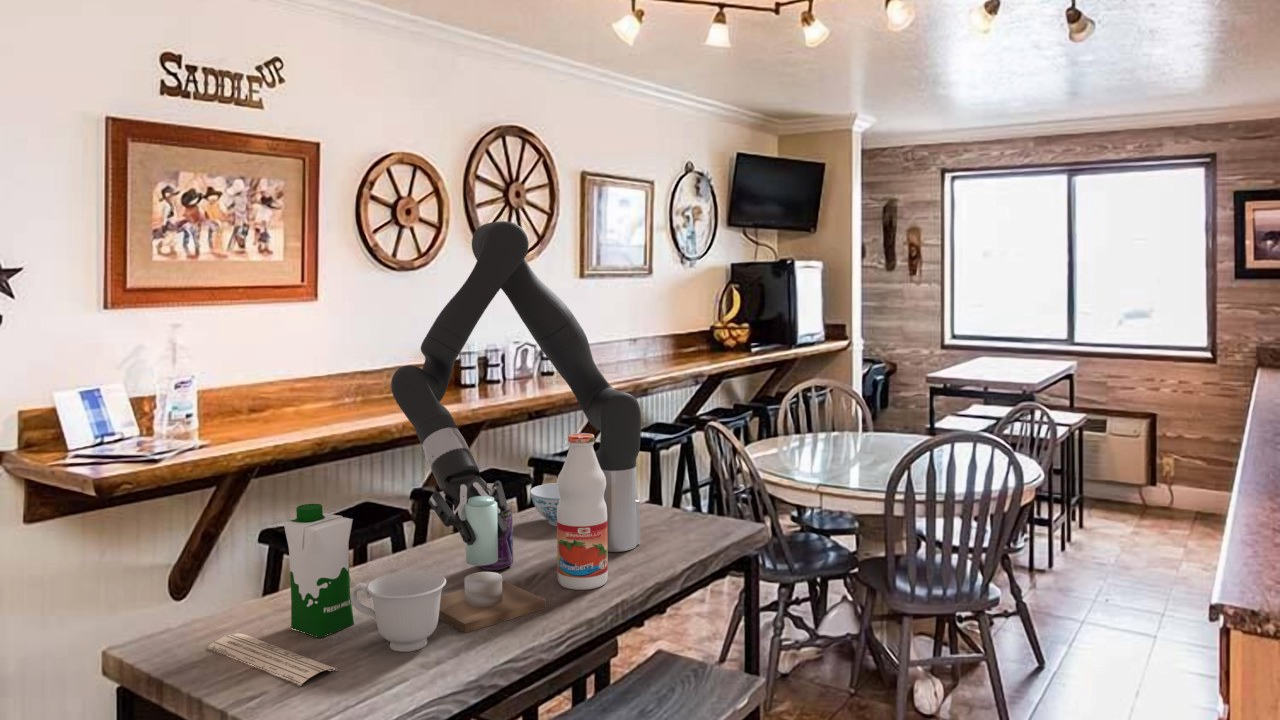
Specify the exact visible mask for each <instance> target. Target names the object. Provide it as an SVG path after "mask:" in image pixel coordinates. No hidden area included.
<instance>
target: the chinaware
mask: <svg viewBox="0 0 1280 720" xmlns="http://www.w3.org/2000/svg"><path fill="white" fill-rule="evenodd" d="M529 490H530V491H529V492H530V493H529V494H530V497H531V500H532V503H533V505H534V507H535V509H536V511H537V512H538V513H539V514H540V515H541V516H542V517H543V518H545V519H547V521H548V524H549V525H551V526H555V527H557V506H558V503H559V501H560V495H559V491H558V487H557V482H551V483H545V484H544V483H543V484H541V485H537V486H534V487H532V488H531V489H529Z"/></svg>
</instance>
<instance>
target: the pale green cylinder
mask: <svg viewBox="0 0 1280 720" xmlns="http://www.w3.org/2000/svg"><path fill="white" fill-rule="evenodd" d="M465 511H466V521H468V522H469V523H470V525H471V528H472V530H473V532H474V534H475V536H476V541H475V542H474V543H473V545H467V543H465V561H466V564H468V565H471V566H478V567H480V566H482V565H490V564H493V563H496V562H497V561H498V522H497V502H496V501H494V498H493V497H492V496H476V497H471V498H469V499H468V502H467V504H465Z"/></svg>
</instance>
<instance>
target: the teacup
mask: <svg viewBox="0 0 1280 720" xmlns="http://www.w3.org/2000/svg"><path fill="white" fill-rule="evenodd" d="M446 584H447V579H446V578H445V576H443V575H441V573H437V572H433V571H427V570H405V571H402V570H401V571H397V572H391V573H387V574H384V575H381V576H379V577H377V578H374V579H372V580H371V581H370V582H369V583H368V584H367V583H365V582H357V583H356V584H355V585H353V587H352V588H351V589H350V599H351V604H352V607H354V608H355V610H357V611H359V612H360V613H363V614H366V615H368V616H370V617H371V618H373V620H375V623H376V626H377V629H378V632H379V633H380V635H381V636H382V638H384V640H387V641H389V643H390V644H389V648H390V649H391V650H392V651H395V652H399V653H400V652H401V653H402V652H403V653H406V652H407V653H408V652H415V651H417V650H421V649H423V648H424V647H426V646H427V644H428V637H430V636H431V635H432V634H433V633H434V632H435V631H436V628H437V626H438V622H439V618H438V617H439V609H440V598H441V596H442V591H443V587H445V586H446ZM358 591H363V592H364V593H365V597H366V598H367V599H370V598H371V599H372V604H373V608H370V607H369V606H366V605H364V604H362V603H361V601H360V600H359V599H358V596H357V592H358Z"/></svg>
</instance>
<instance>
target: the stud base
mask: <svg viewBox="0 0 1280 720" xmlns="http://www.w3.org/2000/svg"><path fill="white" fill-rule="evenodd" d="M544 609H546V599H545V598H542V597H541V596H538V595H536V594H533V593H531V592H529V591H527V590H524V589H522V588H520V587H517V586H515V585H513V584H511V583H509V582H507V581H504V580H503V576H502V574H500V573H499V572H493V571H480V572H479V571H478V572H473V573H470V574H468V575H466V576H465V577H464V589H461V590H458V591H453V592H451V593H446V594H441V598H440V609H439V617H438V620H441V621H443V622H445V623H446V624H448V625H450V626H452V627H454V628H455V629H458V630H459V631H461V632H462V633H464V634H465V633H469V632H472V631H476V630H479V629H483V628H486V627H490V626H492V625H495V624H498V623H501V622H505V621H508V620H512V619H515V618H517V617H522V616H524V615H528V614H532V613H535V612H537V611H541V610H544Z"/></svg>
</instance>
